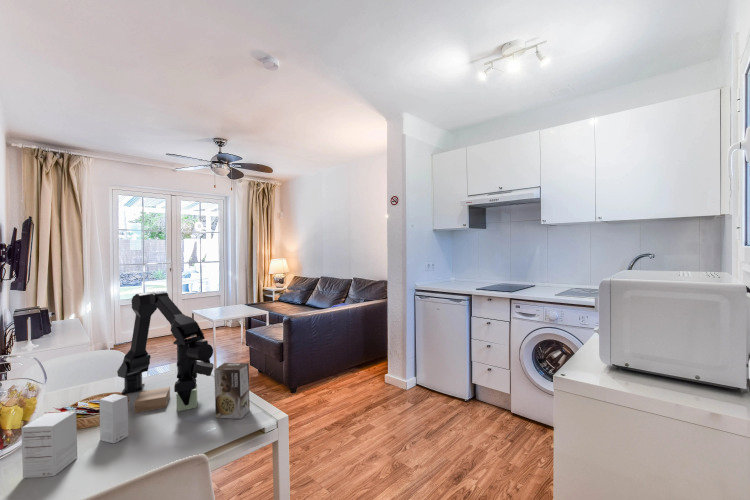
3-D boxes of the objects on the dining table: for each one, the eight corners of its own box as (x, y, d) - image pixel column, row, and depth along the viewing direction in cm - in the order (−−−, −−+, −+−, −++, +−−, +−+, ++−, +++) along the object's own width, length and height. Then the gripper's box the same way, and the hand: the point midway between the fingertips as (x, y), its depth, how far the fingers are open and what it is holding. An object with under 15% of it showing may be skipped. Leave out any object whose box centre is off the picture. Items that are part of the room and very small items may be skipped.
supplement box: (48, 459, 87) (47, 412, 87) (78, 457, 88) (77, 410, 88) (21, 479, 80) (19, 427, 80) (54, 477, 81) (53, 425, 80)
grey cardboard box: (250, 409, 113) (249, 362, 113) (241, 419, 107) (240, 369, 107) (225, 408, 114) (224, 362, 114) (214, 418, 108) (213, 369, 107)
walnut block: (141, 402, 120) (140, 391, 120) (169, 397, 124) (169, 387, 124) (134, 413, 112) (134, 402, 112) (165, 408, 116) (165, 396, 116)
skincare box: (129, 436, 98) (128, 395, 98) (113, 444, 94) (112, 402, 94) (115, 432, 100) (114, 393, 100) (99, 440, 96) (98, 399, 96)
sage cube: (178, 404, 118) (178, 387, 118) (197, 400, 121) (197, 384, 121) (176, 411, 113) (176, 393, 113) (196, 407, 115) (196, 390, 115)
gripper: (212, 361, 112) (212, 407, 112) (211, 347, 128) (212, 387, 129) (173, 367, 107) (174, 415, 107) (178, 351, 123) (179, 392, 124)
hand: (187, 401), depth 117 cm, fingers closed on sage cube, 6 cm apart
